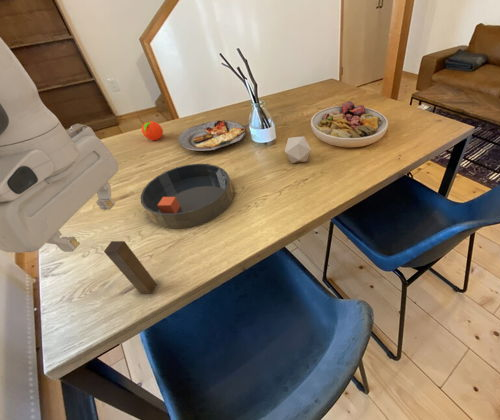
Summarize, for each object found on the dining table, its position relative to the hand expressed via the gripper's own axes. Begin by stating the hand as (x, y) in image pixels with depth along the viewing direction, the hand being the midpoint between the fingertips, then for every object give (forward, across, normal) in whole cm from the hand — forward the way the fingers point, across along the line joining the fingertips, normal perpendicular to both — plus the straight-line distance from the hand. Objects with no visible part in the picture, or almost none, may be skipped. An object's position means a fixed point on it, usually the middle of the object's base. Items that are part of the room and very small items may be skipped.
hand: (92, 226), depth 45 cm
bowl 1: (+19, -30, 0) cm, 35 cm away
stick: (+20, -1, +1) cm, 20 cm away
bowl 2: (+18, -72, +48) cm, 88 cm away
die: (+19, -51, +29) cm, 62 cm away
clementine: (+19, -66, -28) cm, 75 cm away
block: (+18, -24, -4) cm, 31 cm away
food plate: (+19, -67, -5) cm, 70 cm away
